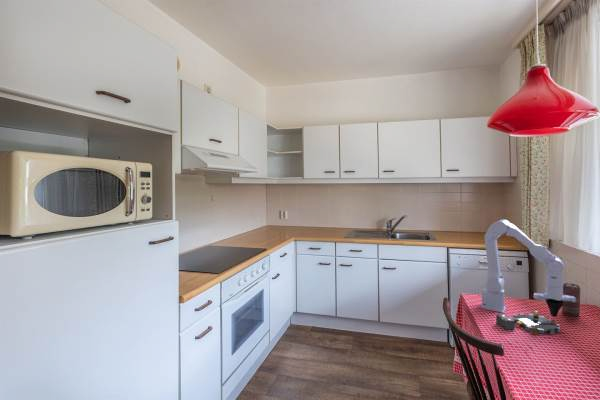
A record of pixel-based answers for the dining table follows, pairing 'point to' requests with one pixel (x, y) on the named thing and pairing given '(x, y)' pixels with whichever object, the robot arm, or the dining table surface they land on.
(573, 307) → the can
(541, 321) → the sprocket
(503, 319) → the gray speaker cabinet
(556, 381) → the dining table surface
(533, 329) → the brown rectangular block
